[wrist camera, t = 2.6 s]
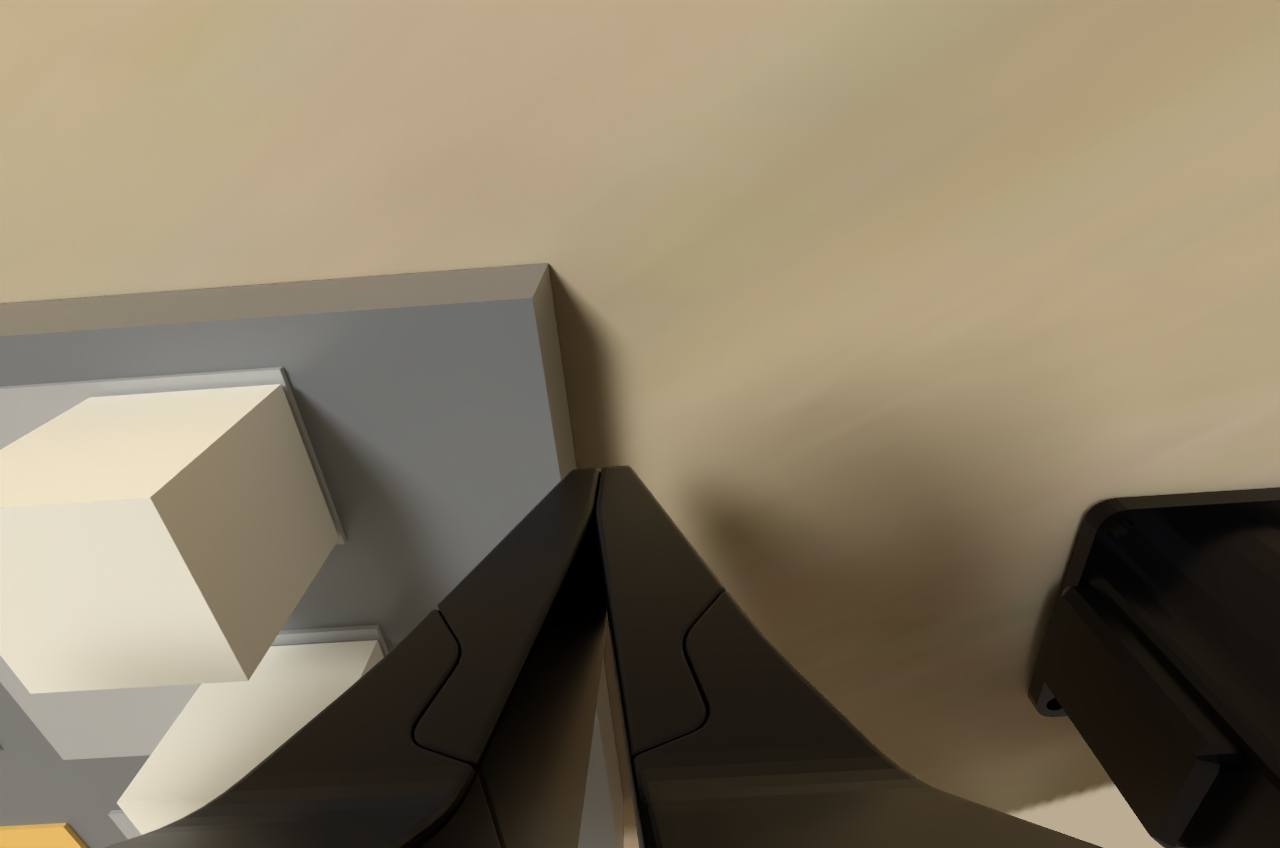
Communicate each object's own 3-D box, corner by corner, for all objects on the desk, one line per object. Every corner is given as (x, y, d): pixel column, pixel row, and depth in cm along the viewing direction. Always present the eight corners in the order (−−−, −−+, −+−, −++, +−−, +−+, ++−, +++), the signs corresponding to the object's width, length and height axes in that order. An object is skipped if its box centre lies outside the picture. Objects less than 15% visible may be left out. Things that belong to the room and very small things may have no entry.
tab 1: (281, 383, 10) (149, 497, 7) (339, 538, 11) (248, 681, 8) (89, 397, 10) (-111, 514, 7) (172, 549, 11) (30, 693, 9)
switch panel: (547, 263, 11) (531, 299, 9) (623, 803, 19) (623, 882, 17) (-332, 327, 11) (-517, 375, 10) (94, 831, 19) (37, 911, 17)
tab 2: (377, 640, 12) (308, 792, 10) (414, 738, 14) (362, 895, 11) (226, 648, 12) (116, 802, 10) (278, 746, 14) (195, 903, 11)
